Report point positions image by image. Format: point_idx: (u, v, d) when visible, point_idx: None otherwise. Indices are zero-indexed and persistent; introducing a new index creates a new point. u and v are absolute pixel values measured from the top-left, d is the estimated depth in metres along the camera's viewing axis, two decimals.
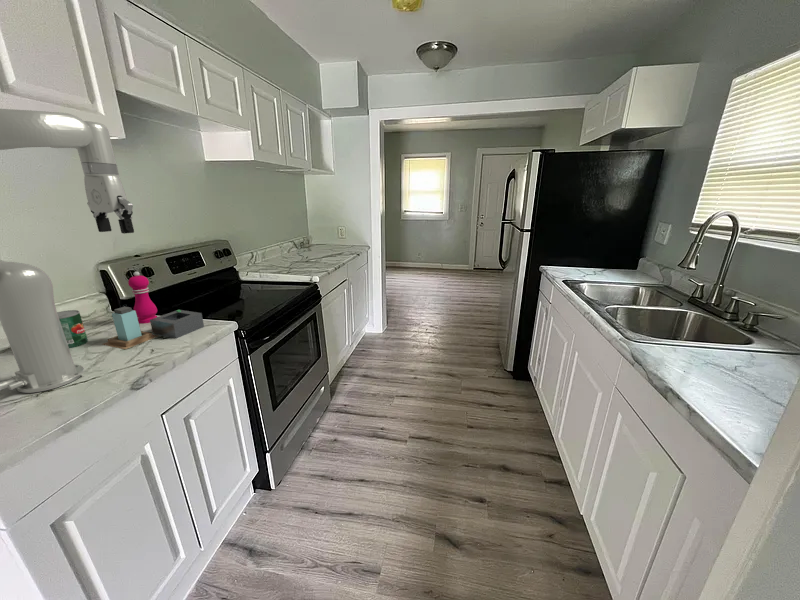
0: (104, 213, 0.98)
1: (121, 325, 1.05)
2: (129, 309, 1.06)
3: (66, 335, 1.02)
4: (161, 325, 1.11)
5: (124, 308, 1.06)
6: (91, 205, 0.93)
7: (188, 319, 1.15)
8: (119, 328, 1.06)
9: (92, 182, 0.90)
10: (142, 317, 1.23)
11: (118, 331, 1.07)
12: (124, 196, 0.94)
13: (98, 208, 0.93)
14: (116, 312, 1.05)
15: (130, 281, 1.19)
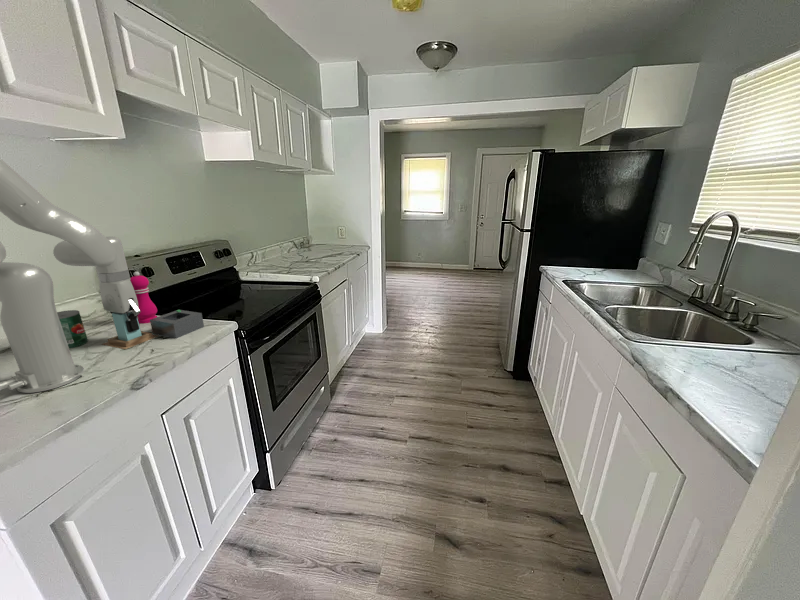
0: None
1: (121, 325, 1.05)
2: (129, 309, 1.06)
3: (66, 335, 1.02)
4: (161, 325, 1.11)
5: None
6: (105, 306, 1.04)
7: (188, 319, 1.15)
8: (119, 328, 1.06)
9: (107, 288, 1.01)
10: (142, 317, 1.23)
11: (118, 331, 1.07)
12: (135, 297, 1.05)
13: (111, 309, 1.03)
14: None
15: None
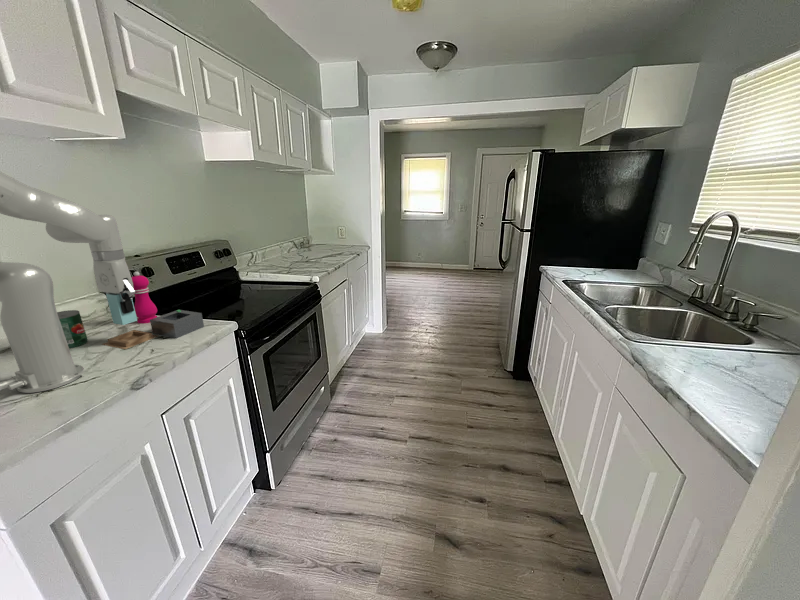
0: None
1: (116, 306, 1.03)
2: (124, 290, 1.04)
3: (66, 335, 1.02)
4: (161, 325, 1.11)
5: None
6: (99, 286, 1.02)
7: (188, 319, 1.15)
8: (113, 309, 1.04)
9: (101, 267, 0.99)
10: (142, 317, 1.23)
11: (112, 312, 1.04)
12: (129, 277, 1.02)
13: (106, 289, 1.01)
14: None
15: None
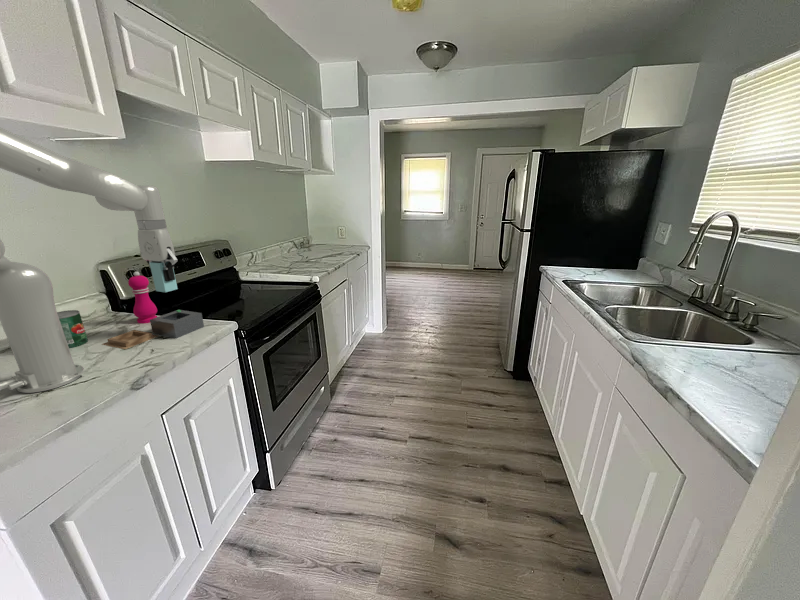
0: None
1: (159, 273, 1.08)
2: (166, 259, 1.09)
3: (66, 335, 1.02)
4: (161, 325, 1.11)
5: None
6: (143, 255, 1.07)
7: (188, 319, 1.15)
8: (156, 277, 1.09)
9: (145, 236, 1.04)
10: (142, 317, 1.23)
11: (155, 280, 1.10)
12: (172, 246, 1.07)
13: (150, 257, 1.06)
14: (154, 261, 1.08)
15: (130, 281, 1.19)
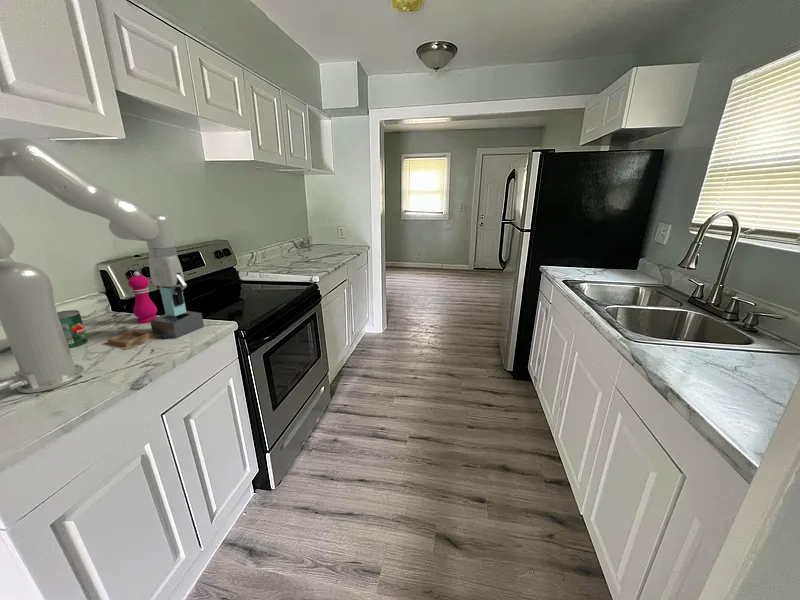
0: None
1: (169, 298, 1.11)
2: None
3: (66, 335, 1.02)
4: (161, 325, 1.11)
5: None
6: (154, 280, 1.10)
7: (188, 319, 1.15)
8: (166, 301, 1.12)
9: (156, 263, 1.07)
10: (142, 317, 1.23)
11: (165, 304, 1.13)
12: (181, 272, 1.11)
13: (160, 283, 1.10)
14: None
15: (130, 281, 1.19)
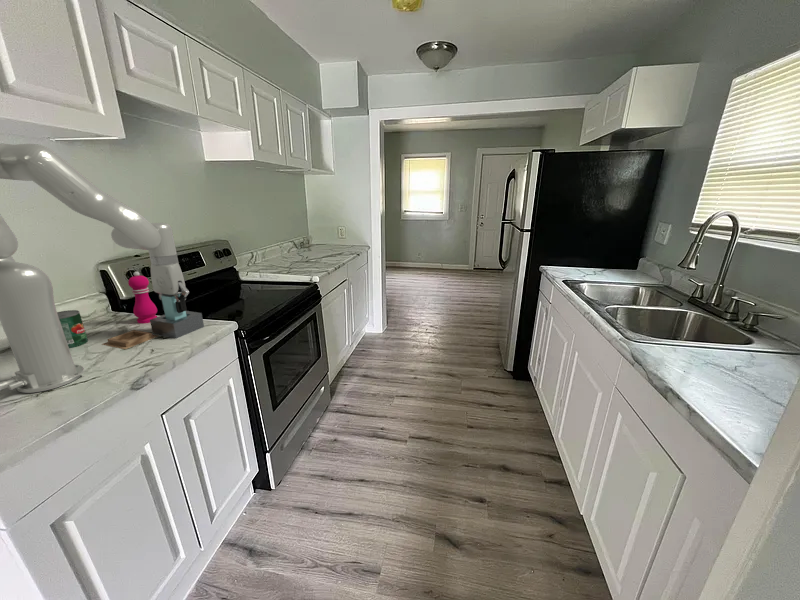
0: None
1: (170, 307, 1.12)
2: (177, 292, 1.14)
3: (66, 335, 1.02)
4: (161, 325, 1.11)
5: None
6: (155, 288, 1.11)
7: (188, 319, 1.15)
8: (167, 310, 1.13)
9: (158, 271, 1.08)
10: (142, 317, 1.23)
11: (166, 313, 1.14)
12: (183, 280, 1.12)
13: (161, 291, 1.10)
14: (165, 295, 1.12)
15: (130, 281, 1.19)
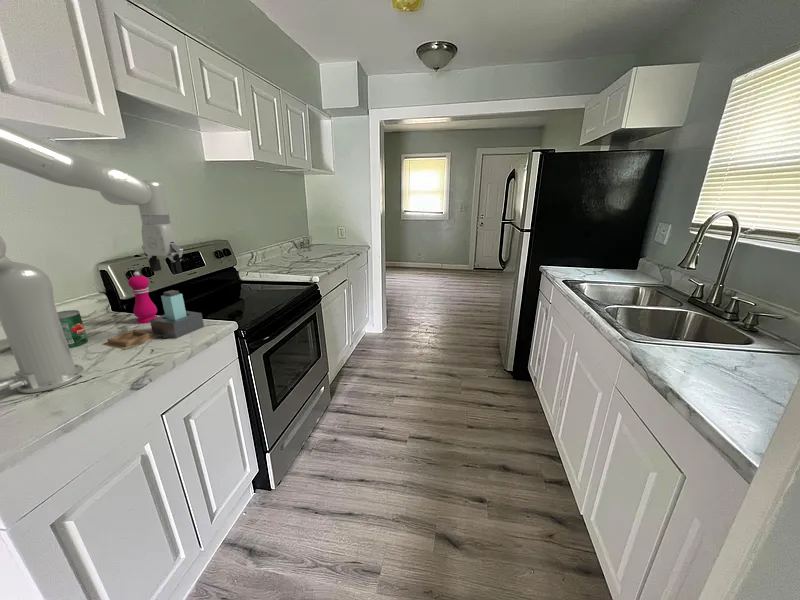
0: None
1: (170, 307, 1.12)
2: (177, 292, 1.14)
3: (66, 335, 1.02)
4: (161, 325, 1.11)
5: (172, 291, 1.13)
6: (146, 250, 1.07)
7: (188, 319, 1.15)
8: (167, 310, 1.13)
9: (149, 231, 1.04)
10: (142, 317, 1.23)
11: (166, 313, 1.14)
12: (175, 242, 1.08)
13: (153, 252, 1.06)
14: (165, 295, 1.12)
15: (130, 281, 1.19)
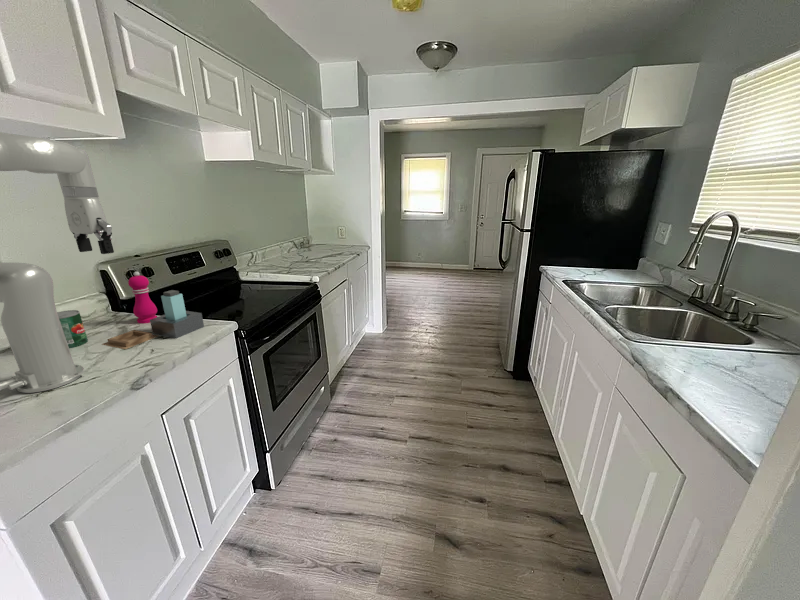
0: (85, 233, 1.00)
1: (170, 307, 1.12)
2: (177, 292, 1.14)
3: (66, 335, 1.02)
4: (161, 325, 1.11)
5: (172, 291, 1.13)
6: (71, 227, 0.96)
7: (188, 319, 1.15)
8: (167, 310, 1.13)
9: (72, 205, 0.93)
10: (142, 317, 1.23)
11: (166, 313, 1.14)
12: (103, 218, 0.96)
13: (78, 230, 0.95)
14: (165, 295, 1.12)
15: (130, 281, 1.19)
